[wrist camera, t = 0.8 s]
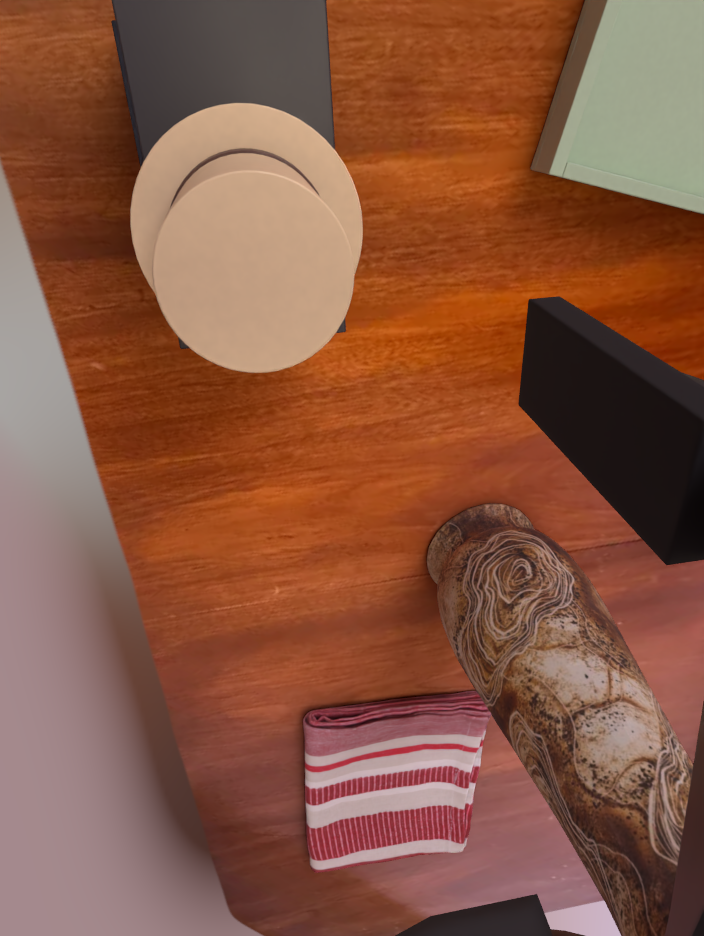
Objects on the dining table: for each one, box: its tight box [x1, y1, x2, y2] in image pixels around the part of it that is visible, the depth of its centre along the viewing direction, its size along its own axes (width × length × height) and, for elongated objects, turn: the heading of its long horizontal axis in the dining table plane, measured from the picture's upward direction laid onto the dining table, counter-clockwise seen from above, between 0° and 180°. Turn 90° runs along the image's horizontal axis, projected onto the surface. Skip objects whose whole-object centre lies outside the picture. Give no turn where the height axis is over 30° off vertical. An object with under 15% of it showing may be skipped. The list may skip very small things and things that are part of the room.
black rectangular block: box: [112, 0, 346, 349], centre depth 31 cm, size 14×8×8 cm, turn 3°
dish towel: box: [303, 691, 491, 873], centre depth 62 cm, size 17×23×3 cm
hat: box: [130, 103, 363, 373], centre depth 25 cm, size 10×10×9 cm
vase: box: [427, 504, 693, 936], centre depth 38 cm, size 10×11×30 cm
